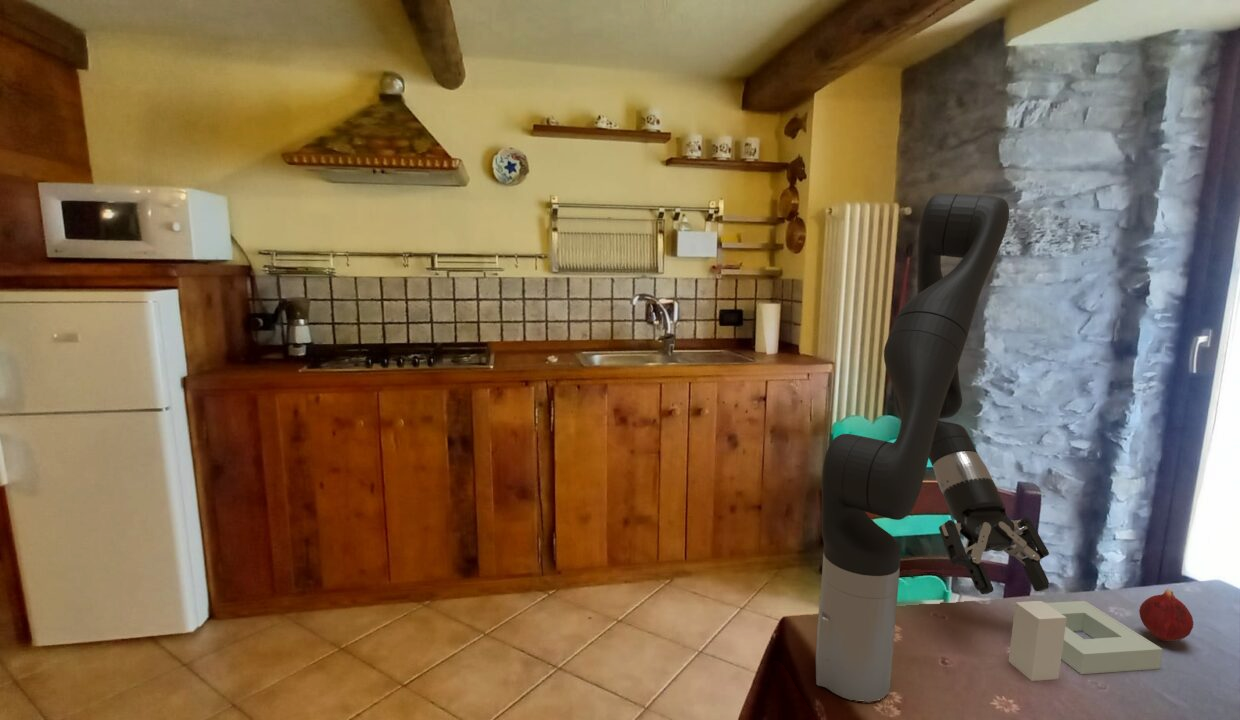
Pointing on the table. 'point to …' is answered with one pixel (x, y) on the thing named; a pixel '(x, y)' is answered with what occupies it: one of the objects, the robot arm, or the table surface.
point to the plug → (1037, 640)
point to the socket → (1103, 642)
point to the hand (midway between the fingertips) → (1015, 591)
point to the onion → (1166, 617)
